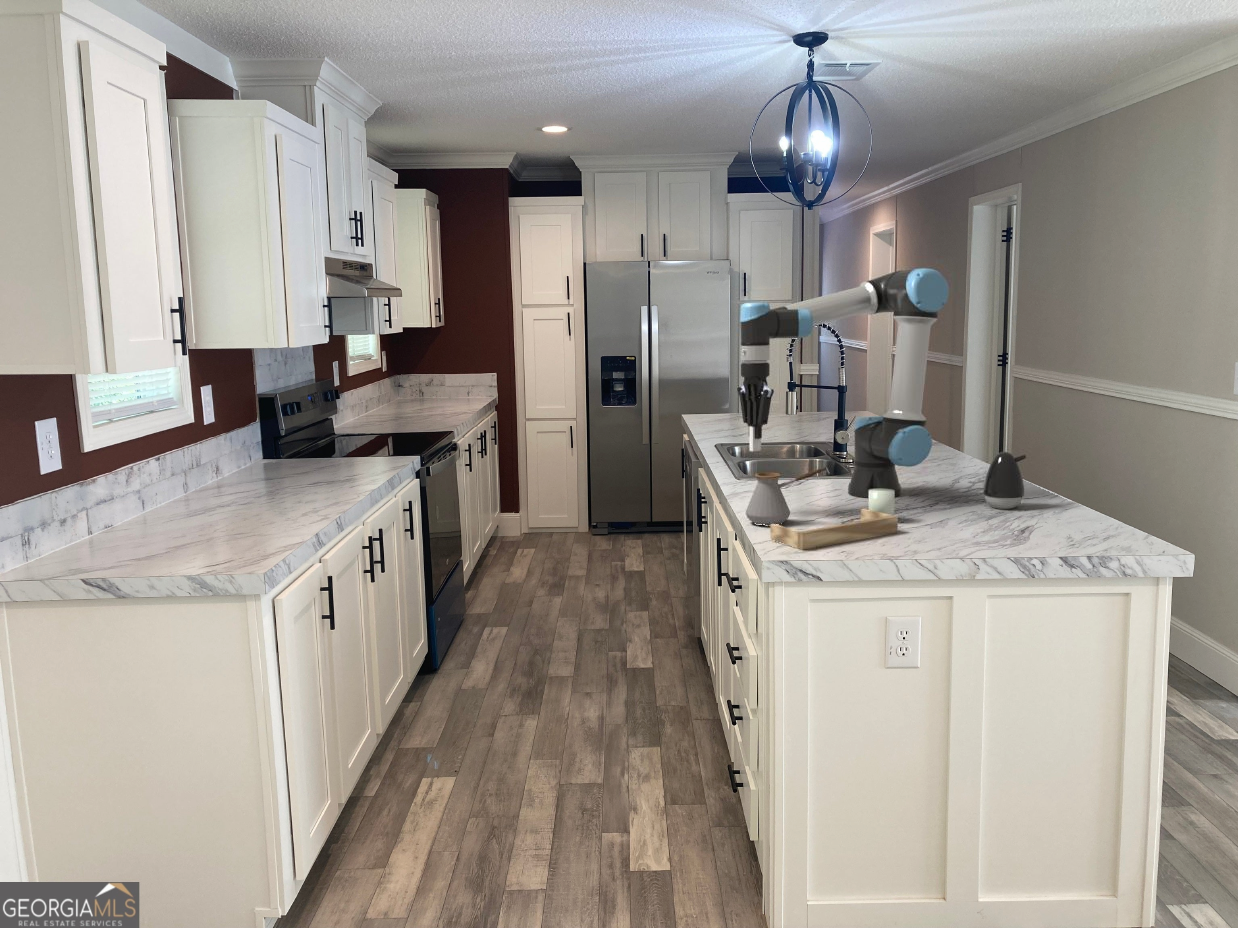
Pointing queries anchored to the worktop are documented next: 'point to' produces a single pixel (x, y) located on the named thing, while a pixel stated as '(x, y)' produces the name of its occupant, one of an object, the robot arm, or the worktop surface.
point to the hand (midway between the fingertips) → (755, 450)
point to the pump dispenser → (1004, 482)
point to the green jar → (881, 500)
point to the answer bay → (837, 531)
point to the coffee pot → (771, 499)
